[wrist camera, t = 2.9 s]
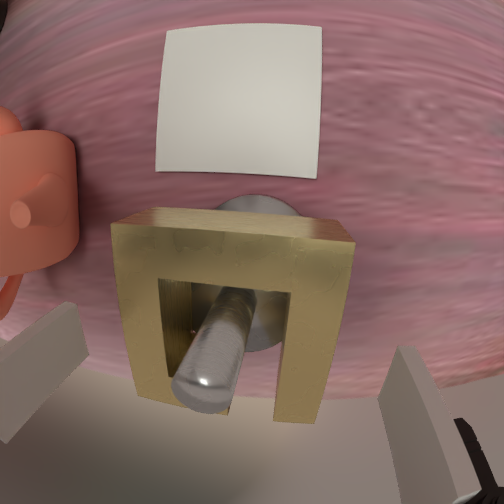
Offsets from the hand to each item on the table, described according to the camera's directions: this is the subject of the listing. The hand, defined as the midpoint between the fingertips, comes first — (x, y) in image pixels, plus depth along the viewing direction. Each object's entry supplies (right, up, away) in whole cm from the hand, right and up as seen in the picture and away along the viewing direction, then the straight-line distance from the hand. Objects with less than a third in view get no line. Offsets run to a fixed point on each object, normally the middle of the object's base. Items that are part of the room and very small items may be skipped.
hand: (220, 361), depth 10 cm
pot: (-21, +11, +13) cm, 27 cm away
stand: (+1, +4, +12) cm, 13 cm away
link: (0, +2, +5) cm, 5 cm away
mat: (0, +16, +9) cm, 18 cm away
